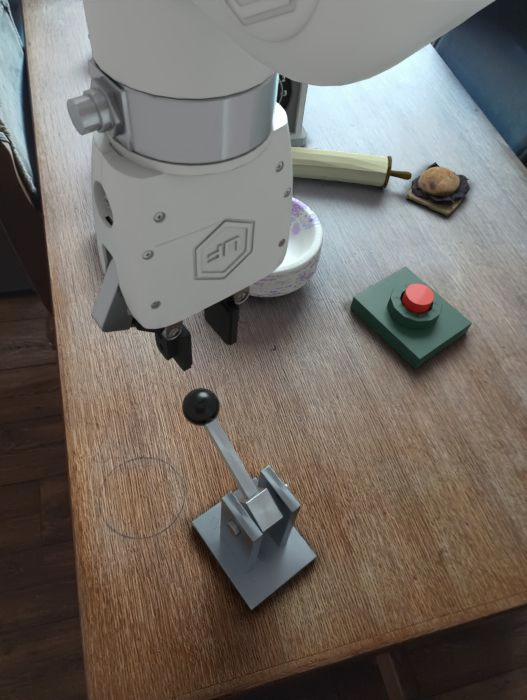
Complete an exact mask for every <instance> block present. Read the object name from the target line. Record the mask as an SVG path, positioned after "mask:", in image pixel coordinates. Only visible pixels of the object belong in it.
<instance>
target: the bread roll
mask: <svg viewBox="0 0 527 700" xmlns="http://www.w3.org/2000/svg"><path fill="white" fill-rule="evenodd" d="M470 185H471V182H470V181H469V178H468V177H466V176H465V175H464V174H457V173H456V172H455V171H452V169H449V168H446V167H443V166H440V165H439V164H438V163H437V161H435V162H433V163H432V164H430V165H429V166H427V167H426V169H425V170H424V171H423V172H422V173H421V174H420V175H418V176H417V177H416V178H414V179H412V181H411V186H410V188H409V191H407V193H406V197H405V198H406V199H409V200H410V201H411V200H412V201H414V202H415V203H418V204H420V205H422V206H425V207H427V208H428V209H429V210H430V209H431V210H432V211H435V212H437V213H440V214H442V215H445V216H446V217H448V216H449V215H451V214H452V213H453V212H454V211H455V210H456V209H457V207H459V205H460V203H461V202H462V200H463V199H465V197H466V195H467V194H468V192H469V191H470V189H471V186H470Z"/></svg>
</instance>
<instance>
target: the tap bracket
mask: <svg viewBox="0 0 527 700" xmlns="http://www.w3.org/2000/svg"><path fill="white" fill-rule="evenodd" d="M251 479H252V481H253V482H254V484H255V486H256V488H257V487H260V488H267V489H268V491H269V493H270V495H271V496H272V498H273V500H274V501H275V503H276V505H277V507H278V508H279V510H280V512H281V514H282V515H283V517H282V518H281V519H280V520H278V521H277V522H276V523H275V524H273V525H272V526H271V527H269V528H268V529H267V530H265V531H264V532H261V531H260V530H259V528H258V527H257V526H256V524H255V523H254V522H253V520H252V519H251V517H250V516H249V515H248V513H247V512H246V511H245V509H244V508H243V507H242V505H241V504H240V503H239V501H238V500H240V499H241V498H242V497H244V496H243V494H242V492H241V491H240V489H239V488H237V489H236V490H235V491H229V492H228V493H227V494H224V495H223V496H221V498H220V499H221V500H220V501H219V502H218V503H216V504H214V505H213V506H212V507H210V508H209V509H207V510H206V511H205V512H203V513H202V514H200V515H198V516H197V517H195V518H194V520H192V521H191V527H192V528H193V530H194V532H195V533H196V534H197V535H198V537H199V538H200V540H201V541H202V543H203V544H204V546H205V548H206V549H207V551H208V552H209V553H210V555H211V556H212V557H213V559H214V561H215V562H216V564H217V565H218V566H219V568H220V569H221V571H222V573H223V574H224V575H225V577H226V579H228V581H229V583H230V584H231V586H232V587H233V588H234V590H235V592H237V595H238V596H239V597H240V599H241V601H242V602H243V604H244V605H245V607H246V608H247V609H248V611H249V612H250V613H252V612H253V611H254V610H256V608H258V607H259V606H261V605H262V604H263V603H264V602H265V601H267V600H268V599H269V598H270V597H272V596H273V595H274V594H275V593H276V592H278V591H279V590H280V589H281V588H283V586H285V585H286V584H287V583H289V582H290V581H291V580H292V579H294V578H295V577H296V576H297V575H298V574H300V573H301V572H302V571H303V570H304V569H306V568H307V567H309V565H311V564H312V563H313V562H315V560H316V559H317V557H318V556H317V554H316V553H315V552H314V550H313V549H312V547H311V546H309V544H308V543H307V541H306V540H305V539H304V538H303V536H302V535H301V533H299V531H298V529H296V527H295V526H294V525H295V523H296V519H297V518H298V515H299V513H300V510H301V508H302V504H301V503H300V502H299V501H298V499H297V498H296V497H295V496H294V494H293V492H292V490H291V488H290V487H289V485H288V484H287V483H286V482H284V481H282V479H281V478H280V477H279V475H278V474H277V473H276V471H274V469H273V468H272V467H271V466H270V465H269V464H268V465H267V466H265V467H264V468H263V469H261V470H260V472H259V476H258V478H257V477H256V476H255V477H253V478H251Z"/></svg>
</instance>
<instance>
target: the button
mask: <svg viewBox="0 0 527 700" xmlns="http://www.w3.org/2000/svg"><path fill="white" fill-rule="evenodd" d="M429 287H430V286H429ZM429 287H427V286H425V285H423V284H411V285H409V286H408V287H407V288H406V291H405V293H404V295H403V298H402V304H403V306H404V307H405V308H406V309H407V310H408V311H410V312H413V313H416V314H422V313H425V312H427V311H428V310H429V308H430V306H431V304H432V302H433V300H434V294H433V292H432V290H431V289H430V288H431V287H430V288H429Z"/></svg>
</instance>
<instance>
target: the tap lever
mask: <svg viewBox="0 0 527 700" xmlns="http://www.w3.org/2000/svg"><path fill="white" fill-rule="evenodd" d="M220 410H221V404H220V400H219V397H218V396H217V394H216V393H215V392H213V391H212V390H210V389H208V388H204V387H198V388H194V389H192V390H190V391H189V392H188V393H187V394H185V396H184V398H183V400H182V403H181V412H182V415H183V417H184V418H185V420H186V421H187V422H188V423H189V424H191V425H193V426H197V427H203V428H204V430H205V432H206V433H207V435H208V437H209V439H210V440H211V442H212V444H213V446H214V448H215V449H216V451H217V453H218V454H219V456H220V459H222V462H223V463H224V464H225V466H226V468H227V470H228V472H229V473H230V475H231V477H232V479H233V480H234V482H235V484H236V485H237V487H238V489H240V491H241V492H242V494H243V496H244V497H242V498H241V499H240V500H238V501H239V503H240V504H241V505H242V507H243V508H244V509H245V511H246V512H247V513H248V515H249V516H250V517H251V519H252V520H253V522H254V523H255V524H256V526H257V527H258V528H259V530H260V531H261V532H264V531H265V530H267V529H268V528H269V527H271V526H272V525H273V524H275V523H276V522H277V521H278V520H280V519H281V518H282V517H283V515H282V514H281V512H280V510H279V508H278V507H277V505H276V503H275V501H274V500H273V498H272V496H271V495H270V493H269V491H268V489H267V488H260V487H257V488H256V486H255V484H254V482H253V481H252V479H253V478H252V477H251V476H250V474H249V472H248V470H247V469H246V467H245V466H244V465H245V464H244V463H243V462H242V460H241V458H240V456H239V454H238V453H237V452H236V450H235V447H234V446H233V445H232V444H233V443H232V442H231V440H230V439H229V438H228V437H229V436H227V434H226V432H225V431H224V429H223V427H222V425H221V423H220V422H219V419H218V416H219V414H220Z"/></svg>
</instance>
